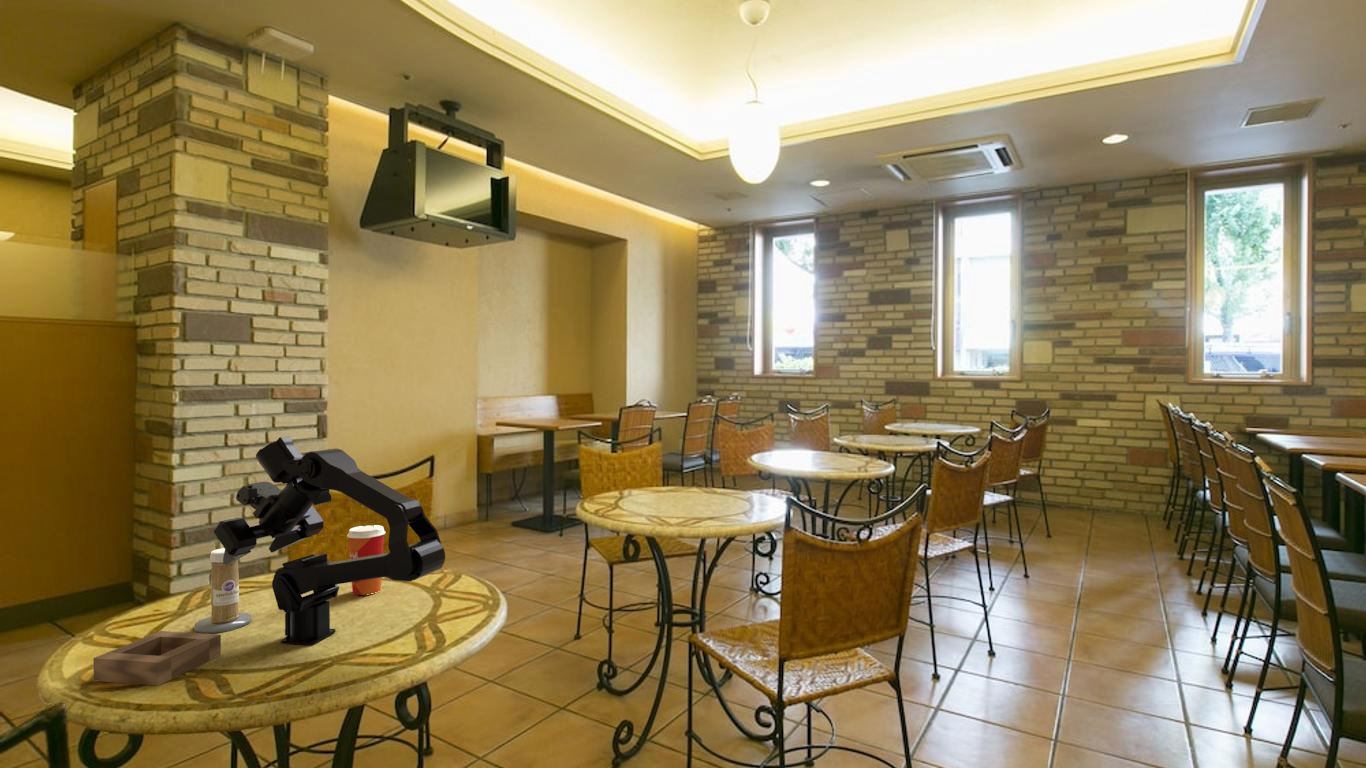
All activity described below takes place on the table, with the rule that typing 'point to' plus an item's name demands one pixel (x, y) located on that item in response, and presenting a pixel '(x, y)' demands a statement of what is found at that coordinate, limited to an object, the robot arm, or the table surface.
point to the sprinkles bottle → (224, 588)
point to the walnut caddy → (157, 658)
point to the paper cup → (366, 553)
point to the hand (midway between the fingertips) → (248, 556)
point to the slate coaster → (222, 624)
